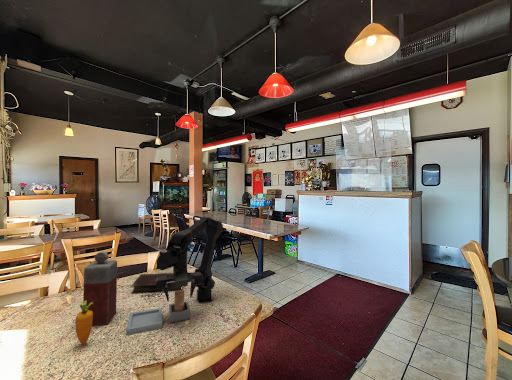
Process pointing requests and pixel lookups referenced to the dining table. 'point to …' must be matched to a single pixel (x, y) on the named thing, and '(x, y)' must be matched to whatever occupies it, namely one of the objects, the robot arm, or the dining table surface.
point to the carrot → (84, 323)
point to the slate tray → (144, 321)
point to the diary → (152, 283)
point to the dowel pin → (179, 300)
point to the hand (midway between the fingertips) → (179, 299)
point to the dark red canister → (101, 288)
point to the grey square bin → (179, 313)
